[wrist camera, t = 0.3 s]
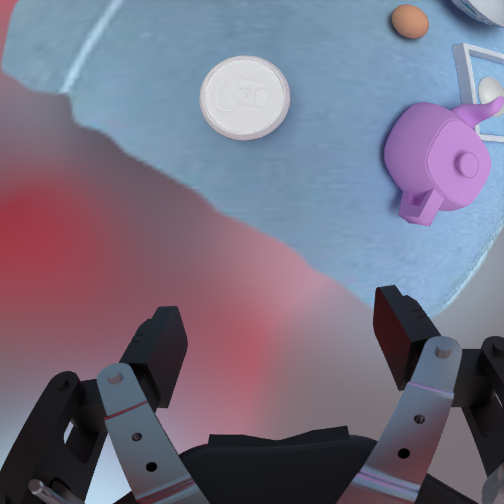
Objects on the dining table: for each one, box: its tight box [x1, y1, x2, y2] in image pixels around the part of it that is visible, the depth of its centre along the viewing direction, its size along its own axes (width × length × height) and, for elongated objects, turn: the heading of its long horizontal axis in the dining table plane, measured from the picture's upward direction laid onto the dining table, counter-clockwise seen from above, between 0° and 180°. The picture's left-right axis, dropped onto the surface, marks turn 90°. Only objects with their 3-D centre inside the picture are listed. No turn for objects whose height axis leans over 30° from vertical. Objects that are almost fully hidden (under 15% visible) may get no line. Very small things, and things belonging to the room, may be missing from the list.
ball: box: [392, 4, 429, 39], centre depth 26 cm, size 5×5×5 cm
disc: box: [478, 77, 504, 117], centre depth 30 cm, size 6×6×1 cm
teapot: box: [384, 96, 504, 226], centre depth 29 cm, size 13×20×11 cm, turn 149°
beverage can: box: [199, 55, 290, 140], centre depth 29 cm, size 8×8×12 cm
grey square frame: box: [452, 43, 504, 142], centre depth 28 cm, size 14×14×3 cm
